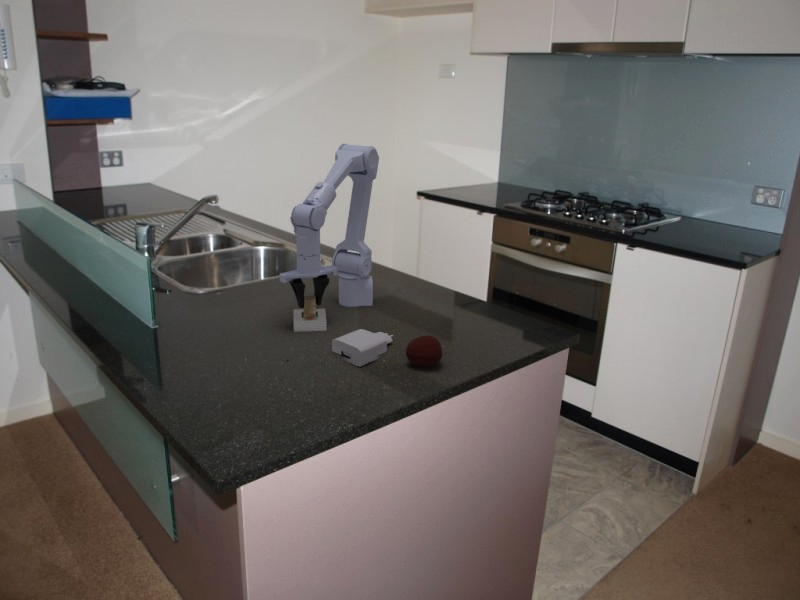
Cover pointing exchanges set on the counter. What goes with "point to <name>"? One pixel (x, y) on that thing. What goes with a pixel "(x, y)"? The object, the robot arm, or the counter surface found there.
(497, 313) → the counter surface
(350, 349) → the charger
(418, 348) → the potato
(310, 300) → the post
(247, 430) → the counter surface
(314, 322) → the stand
